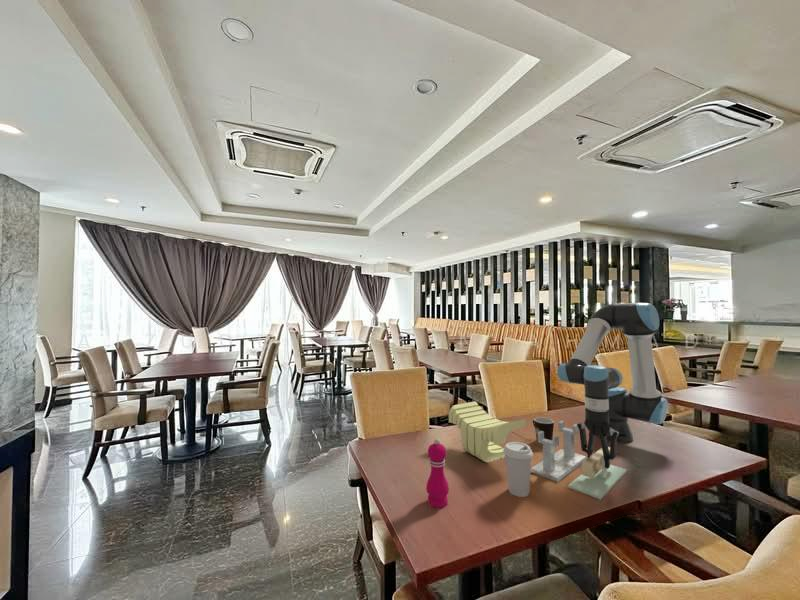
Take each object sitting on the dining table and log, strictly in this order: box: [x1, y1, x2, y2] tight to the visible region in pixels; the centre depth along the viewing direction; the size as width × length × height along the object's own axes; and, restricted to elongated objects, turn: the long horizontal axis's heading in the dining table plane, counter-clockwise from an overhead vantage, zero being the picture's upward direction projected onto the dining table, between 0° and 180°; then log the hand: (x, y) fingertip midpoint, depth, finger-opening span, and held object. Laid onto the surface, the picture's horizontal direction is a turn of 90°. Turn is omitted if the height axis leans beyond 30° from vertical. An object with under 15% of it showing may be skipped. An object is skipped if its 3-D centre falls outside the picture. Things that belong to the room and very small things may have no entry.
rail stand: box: [530, 420, 587, 483], centre depth 131 cm, size 26×10×14 cm, turn 131°
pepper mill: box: [426, 438, 450, 509], centre depth 107 cm, size 7×7×20 cm
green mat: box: [567, 464, 628, 501], centre depth 120 cm, size 28×10×1 cm, turn 131°
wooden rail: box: [581, 446, 613, 478], centre depth 120 cm, size 22×3×4 cm, turn 131°
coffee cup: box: [503, 441, 534, 498], centre depth 112 cm, size 10×10×15 cm
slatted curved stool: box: [448, 401, 527, 463], centre depth 142 cm, size 30×16×18 cm, turn 28°
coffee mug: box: [532, 417, 555, 445], centre depth 156 cm, size 12×9×10 cm
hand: (598, 474), depth 120 cm, fingers closed on wooden rail, 3 cm apart
